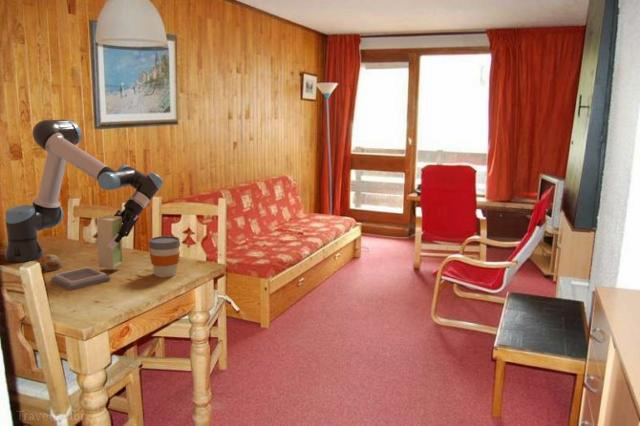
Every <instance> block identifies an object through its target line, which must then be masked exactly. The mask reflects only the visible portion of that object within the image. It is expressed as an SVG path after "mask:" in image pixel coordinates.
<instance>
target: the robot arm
mask: <svg viewBox="0 0 640 426" xmlns="http://www.w3.org/2000/svg"><path fill="white" fill-rule="evenodd" d="M31 134H32V138H33V140H34V142H35V143H36V145H38V146H39V147H40V148H41V149H43V150H44V151H46V152H47V153H46V157H45V162H44V166H43V169H42V170H43V171H42V176H41V181H40V186H39V190H38V193H37V196H36V197H35V198H33V201H32V204H21V205H16V206H13V207H10V208H8V209H7V210H6V211H5V217H4V221H5V227H6V229H5V230H6V236H7V244H6V245H7V246H6V248H5V252H4V260H5V261H6V262H9V263H10V262H11V263H22V262H29V261H31V262H32V261H37V260H38V259H39V258H41V257H42V256H44V251H43V248H42V246H41V245H40V243H39V240H38V232H40V231H43V230H47V229H52V228H54V227H56V226H58V225H60V224H61V223H62V221H63V219H64V211H63V207H62V206H61V205H62V204H61V202H60V201H59V197H60V194H61V193H60V192H61V189H62V183H63V180H64V175H65V171H66V166H67V162H68V163H69V164H71V165H72V166H73V167H76V168H77V169H78V170H80V171H82V172H84V174H86V175H88V176H90V177H91V178H93V179H94V180H96V181H97V184H98V185H99V187H100V188H101V189H102V190H103V191H114V190H119V189H121V188H125V187H131V188H133V189H135V191H134V192H132V194H131V196H129V199H128V200H127V201H126V202H125V203H124V204H123V207H124V209H123V210H122V211H121V210H119V209H117V211H116V212H115V213H114V215H113V216H121V217H122V226H121V229H120V231H119V232H117V233H118V234H116V235H115V237H114V238H113V239H112V240H111V242H110V243H109V244H108V245H107V246H108V247H109V248H110V249H111V250H113V249H114V248H115V246H116V245H117V244H118V242H119V241H120V240H121V239H122V240H123V238H124V237H128V236H129V235H130V233H131V232H132V230H133V228H134V227H135V224H136V223H137V222H138V220H139V217H138V216H140V214H141V213H142V212H143V211H144V209H145V208H146V206H148V204H149V203H150V202H151V200H152V199H153V197H154V196H155V195H156V194H157V193H158V191H159V190H160V189H161V187H162V185H163V184H164V180H163V179H162V177H161V176H160V175H158V174H156V173H154V172H149V173H148V174H145V173H142V172H140V171H139V170H137V169H135V168H134V167H132V166H130V165H127V164H122V165H121V166H119V167H118V168H117V170H115V169H113V168H111V167H109V166H108V165H106V164H105V163H104V162H102V161H100V160H98V159H97V158H96V157H94V156H92V155H91V154H89V153H88V152H87V151H85V150H83V149H81V148H80V147H78V146H77V145H78V144H79V143H80V142H81V140H82V130H81V128H80V127H79V125H78V124H77V123H76V122H75V121H74V120H73V121H72V120H69V119H63V118H62V119H43V120H40V121H38V122H37V123H36V124H35V125H34V127H33V128H32V133H31ZM94 242H95V243H96V244H97V245H98V237H97V238H96V239H95V241H94Z"/></svg>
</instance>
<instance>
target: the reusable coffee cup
mask: <svg viewBox="0 0 640 426" xmlns="http://www.w3.org/2000/svg"><path fill="white" fill-rule="evenodd" d="M148 242H149V243H148V248H149V250H150V253H149V257H150V262H151V263H150V264H151V265H152V267H153V271H154V272H153V273H154V276H155V277H156V278H157V277H159V278H169V277H174V276H175V275H177V274H178V264H179V261H180V252H181V251H180V246H181V243H180V242H181V241H180V238H179V236H178V237H177V236H172V235H163V236H162V235H161V236H155V237H151V238H150V239H149V241H148Z"/></svg>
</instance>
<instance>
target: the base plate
mask: <svg viewBox="0 0 640 426" xmlns="http://www.w3.org/2000/svg"><path fill="white" fill-rule="evenodd" d="M50 279H51V280H50V281H51V282H53V283H54V284H56V285H59V286H60V285H61V286H60V287H63V288H64V289H66V290H68V289H69V290H68V291H72V290H76V289H77V290H78V289H81V288H85V287H89V286H93V285H97V284H100V283H106V282H109V281H111V277H110V276H109V275H107V274H106V273H105V272H102V271H100V270H98V269H96V268H93V267H91V266H86V267H82V268H81V267H80V268H77V269H72V270H69V271H64V272H59V273H55V274H54V276H52V277H50Z"/></svg>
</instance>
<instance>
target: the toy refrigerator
mask: <svg viewBox="0 0 640 426" xmlns="http://www.w3.org/2000/svg"><path fill="white" fill-rule="evenodd" d="M122 224H123V223H122V217H121V216H114V215H111V214H110V215H109V214H107V215H104V216H101V217H99V218H97V219H96V227H97V228H96V229H97V230H96V231H97V238H98V244H97V247H98V248H97V252H98V267H99V268H104V269H111V270H112V269H115V268H116V267H118V266H120V265H122V264H123V263H124V249H123V244H124V243H123V238H122V239H121V240H120V241H119V242H118V244H117V245H116V246H115V248H114V249H113V250H111V249H110V248H109V247H108V246H107V245H108V244H109V243H110V242H111V240H112V239H113V238H114V237H115V235H116V234H118V233H117V232H119V231H120V229H121V226H122Z"/></svg>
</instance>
